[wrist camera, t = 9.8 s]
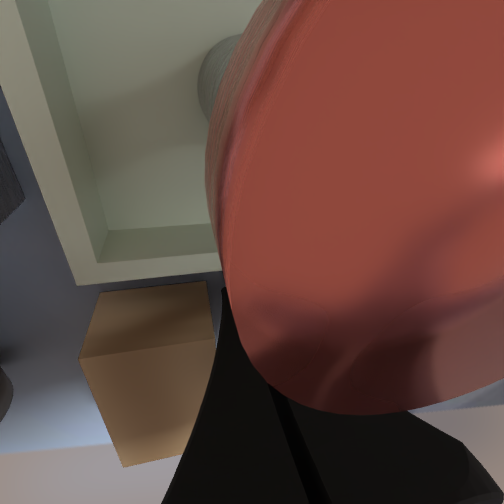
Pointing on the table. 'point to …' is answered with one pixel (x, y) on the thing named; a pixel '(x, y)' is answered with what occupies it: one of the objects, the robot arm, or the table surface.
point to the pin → (362, 197)
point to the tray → (118, 126)
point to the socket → (8, 187)
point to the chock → (150, 366)
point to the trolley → (5, 393)
